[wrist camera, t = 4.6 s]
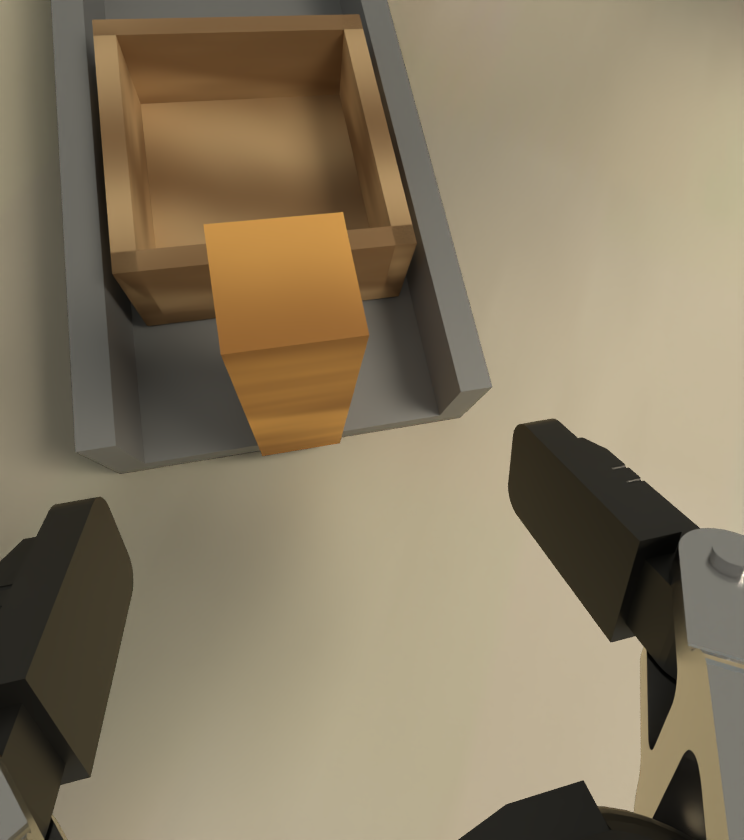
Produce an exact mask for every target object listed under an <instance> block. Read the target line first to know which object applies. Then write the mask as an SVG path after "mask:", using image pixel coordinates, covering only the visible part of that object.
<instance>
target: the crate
mask: <svg viewBox="0 0 744 840" xmlns="http://www.w3.org/2000/svg"><path fill="white" fill-rule="evenodd" d="M92 26H93V38H94V51H95V63H96V76H97V89H98V101H99V114H100V126H101V139H102V151H103V164H104V177H105V189H106V202H107V214H108V227H109V240H110V252H111V265H112V274H113V276H114V277H115V279H116V280H117V282H118V283H119V285H120V286H121V288H122V289H123V291H124V292H125V294H126V295H127V297H128V298H129V300H130V301H131V303H132V304H133V306H134V307H135V309H136V310H137V312H138V313H139V315H140V316H141V318H142V319H143V320H144V322H145V323H146V325H147V326H153V325H161V324H170V323H178V322H186V321H195V320H203V319H212V318H216V323H217V330H218V338H219V345H220V353H221V356H222V359H223V361H224V364H225V366H226V369H227V371H228V373H229V376H230V378H231V381H232V383H233V386H234V388H235V390H236V393H237V395H238V398H239V400H240V403H241V405H242V407H243V410H244V412H245V415H246V417H247V420H248V422H249V424H250V427H251V429H252V432H253V434H254V437H255V439H256V441H257V444H258V446H259V449H260V451H261V454H262V456H266V455H272V454H278V453H284V452H290V451H296V450H302V449H308V448H314V447H320V446H325V445H331V444H337V443H340V440H341V437H342V433H343V429H344V426H345V422H346V418H347V415H348V411H349V408H350V404H351V400H352V397H353V393H354V389H355V386H356V382H357V378H358V375H359V371H360V367H361V364H362V360H363V356H364V353H365V349H366V345H367V342H368V338H369V331H368V327H367V322H366V317H365V313H364V308H363V303H362V301H363V300H371V299H379V298H388V297H396V296H399V294H400V291H401V288H402V285H403V282H404V279H405V277H406V274H407V271H408V268H409V265H410V262H411V259H412V256H413V253H414V250H415V247H416V245H417V241H416V237H415V233H414V229H413V225H412V221H411V217H410V213H409V209H408V205H407V201H406V197H405V193H404V190H403V186H402V182H401V178H400V174H399V170H398V166H397V162H396V158H395V154H394V150H393V146H392V142H391V138H390V134H389V130H388V126H387V122H386V118H385V114H384V110H383V106H382V102H381V98H380V94H379V90H378V86H377V82H376V78H375V74H374V70H373V66H372V63H371V59H370V55H369V51H368V47H367V43H366V39H365V35H364V31H363V27H362V23H361V19H360V15H359V14H349V15H299V16H249V17H200V18H150V19H100V20H92Z"/></svg>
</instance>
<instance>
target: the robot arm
mask: <svg viewBox="0 0 744 840" xmlns="http://www.w3.org/2000/svg"><path fill="white" fill-rule="evenodd" d="M508 492H509V498H510V501H511V504H512V507H513V509H514V511H515V513H516V514H517V516H518V517H519V518H520V520H521V521H522V523H523V524H524V525H525V527H526V528H527V529H528V531H529V532H530V533H531V535H532V536H533V538H534V539H535V540H536V542H537V543H538V544H539V546H540V547H541V548H542V550H543V551H544V552H545V554H546V555H547V557H548V558H549V559H550V561H551V562H552V563H553V565H554V566H555V567H556V569H557V570H558V572H559V573H560V574H561V576H562V577H563V578H564V580H565V581H566V582H567V584H568V585H569V586H570V588H571V589H572V591H573V592H574V593H575V595H576V596H577V597H578V599H579V600H580V601H581V603H582V604H583V606H584V607H585V608H586V610H587V611H588V612H589V614H590V615H591V616H592V618H593V619H594V620H595V622H596V623H597V625H598V626H599V627H600V629H601V630H602V631H603V633H604V634H605V635H606V637H607V638H608V640H609V641H610V642H615V641H618V640H622V639H626V638H630V637H633V636H636V637H637V639H638V640H639V641H640V642H641V644H642V645H643V646H644V647H643V650H642V653H641V657H640V714H641V763H640V774H639V780H638V785H637V790H636V796H635V804H634V812H630V811H627V810H622V809H616V808H610V807H604V806H597V805H596V803H595V801H594V799H593V797H592V795H591V794H590V792H589V790H588V788H587V786H586V784H585V782H584V781H580V782H576V783H573V784H570V785H567V786H564V787H560V788H557V789H554V790H551V791H548V792H544V793H541V794H538V795H535V796H532V797H528V798H525V799H522V800H519V801H516V802H513V803H509V804H506V805H505V806H504V807H502V808H501V809H499V810H498V811H497V812H495V813H494V814H493V815H491V816H490V817H489V818H487V819H486V820H484V821H483V822H482V823H480V824H479V825H478V826H476V827H475V828H474V829H472V830H471V831H469V832H468V833H467V834H465V835H464V836H463V837H461V838H460V839H459V840H744V535H741V534H738V533H735V532H731V531H727V530H722V529H714V528H701V529H700V528H699V527H698V526H697V525H696V524H694V523H693V522H692V521H691V520H690V519H689V518H687V517H686V516H685V515H684V514H683V513H682V512H680V511H679V510H678V509H677V508H676V507H674V506H673V505H672V504H671V503H670V502H669V501H667V500H666V499H665V498H664V497H663V496H662V495H660V494H659V493H658V492H657V491H656V490H654V489H653V488H652V487H651V486H650V485H649V484H647V483H646V482H645V481H641V480H640V477H639V476H638V475H637V474H636V473H635V472H633V471H632V470H631V469H630V468H626V467H625V464H624V463H623V462H622V461H620V460H619V459H618V458H617V457H616V456H615V455H613V454H612V453H611V452H610V451H609V450H608V449H606V448H604V447H602V446H599V445H597V444H595V443H593V442H591V441H589V440H587V439H585V438H577V437H576V436H575V435H574V434H573V433H571V432H570V431H569V430H568V429H567V428H566V427H565V426H564V425H563V424H561V423H560V422H559V421H558V420H556V419H547V420H541V421H536V422H530V423H524V424H519V425H517V426H516V428H515V430H514V434H513V442H512V452H511V461H510V471H509V481H508ZM132 591H133V570H132V565H131V561H130V558H129V555H128V552H127V550H126V548H125V545H124V543H123V540H122V538H121V535H120V533H119V530H118V528H117V525H116V523H115V521H114V518H113V516H112V513H111V511H110V508H109V506H108V504H107V502H106V501H105V500H104V499H103V498H102V497H96V498H90V499H84V500H78V501H73V502H67V503H61V504H56V505H54V506H52V507H51V509H50V510H49V512H48V514H47V516H46V518H45V520H44V522H43V524H42V526H41V528H40V530H39V532H38V534H37V536H36V537H33V538H27V539H23V540H22V541H21V542H20V543H19V544H18V545H17V546H16V547H15V548H14V549H13V550H12V551H11V552H10V553H9V554H8V555H7V556H6V557H5V558H3V559H2V560H1V561H0V840H68V839H67V837H66V836H65V834H64V832H63V830H62V828H61V827H60V825H59V823H58V821H57V820H56V818H55V817H54V816H53V814H52V813H53V809H54V805H55V802H56V798H57V794H58V791H59V787H60V785H62V784H66V783H70V782H74V781H77V780H81V779H85V778H89V777H91V772H92V768H93V763H94V759H95V755H96V750H97V746H98V741H99V737H100V733H101V728H102V724H103V719H104V715H105V711H106V706H107V702H108V697H109V693H110V689H111V684H112V680H113V675H114V671H115V667H116V662H117V658H118V653H119V649H120V645H121V640H122V636H123V631H124V627H125V623H126V618H127V614H128V609H129V605H130V601H131V596H132Z"/></svg>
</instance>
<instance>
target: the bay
mask: <svg viewBox="0 0 744 840" xmlns="http://www.w3.org/2000/svg"><path fill="white" fill-rule="evenodd" d="M51 10H52V29H53V47H54V66H55V84H56V103H57V122H58V140H59V159H60V178H61V196H62V215H63V233H64V252H65V271H66V289H67V308H68V326H69V345H70V364H71V382H72V401H73V420H74V438H75V452H76V453H78V454H80V455H82V456H84V457H87V458H89V459H91V460H93V461H95V462H97V463H99V464H101V465H103V466H105V467H107V468H109V469H111V470H114V471H116V472H118V473H120V474H122V473H128V472H134V471H140V470H146V469H152V468H158V467H164V466H170V465H176V464H182V463H188V462H195V461H201V460H207V459H213V458H219V457H225V456H231V455H237V454H243V453H249V452H255V451H260V449H259V446H258V444H257V441H256V439H255V437H254V434H253V432H252V429H251V427H250V424H249V422H248V420H247V417H246V415H245V412H244V410H243V407H242V405H241V403H240V400H239V398H238V395H237V393H236V390H235V388H234V386H233V383H232V381H231V378H230V376H229V373H228V371H227V369H226V366H225V364H224V361H223V359H222V356H221V353H220V345H219V338H218V330H217V323H216V318H212V319H203V320H195V321H186V322H178V323H170V324H161V325H153V326H147V325H146V323H145V322H144V320H143V319H142V318H141V316H140V315H139V313H138V312H137V310H136V309H135V307H134V306H133V304H132V303H131V301H130V300H129V298H128V297H127V295H126V294H125V292H124V291H123V289H122V288H121V286H120V285H119V283H118V282H117V280H116V279H115V277H114V276H113V274H112V265H111V252H110V240H109V227H108V214H107V202H106V189H105V177H104V164H103V151H102V139H101V126H100V114H99V101H98V89H97V76H96V63H95V51H94V38H93V26H92V20H100V19H150V18H200V17H249V16H299V15H349V14H359V15H360V19H361V23H362V27H363V31H364V35H365V39H366V43H367V47H368V51H369V55H370V59H371V63H372V66H373V70H374V74H375V78H376V82H377V86H378V90H379V94H380V98H381V102H382V106H383V110H384V114H385V118H386V122H387V126H388V130H389V134H390V138H391V142H392V146H393V150H394V154H395V158H396V162H397V166H398V170H399V174H400V178H401V182H402V186H403V190H404V193H405V197H406V201H407V205H408V209H409V213H410V217H411V221H412V225H413V229H414V233H415V237H416V241H417V245H416V247H415V250H414V253H413V256H412V259H411V262H410V265H409V268H408V271H407V274H406V277H405V279H404V282H403V285H402V288H401V291H400V294H399V296H396V297H388V298H379V299H371V300H363V301H362V303H363V308H364V313H365V317H366V322H367V327H368V331H369V338H368V342H367V345H366V349H365V353H364V356H363V360H362V364H361V367H360V371H359V375H358V378H357V382H356V386H355V389H354V393H353V397H352V400H351V404H350V408H349V411H348V415H347V418H346V422H345V426H344V429H343V433H342V437H346V436H352V435H358V434H364V433H370V432H376V431H382V430H388V429H394V428H400V427H406V426H412V425H418V424H424V423H430V422H437V421H443V420H449V419H455V418H460V417H461V416H462V415H463V414H464V413H465V412H467V411H468V410H469V409H470V408H471V407H472V406H473V405H474V404H475V403H476V402H477V401H478V400H479V399H480V398H481V397H482V396H483V395H484V394H485V393H486V392H488V391H489V390H490V389H491V388H492V384H491V380H490V377H489V373H488V369H487V366H486V362H485V358H484V355H483V351H482V347H481V344H480V340H479V336H478V333H477V329H476V325H475V322H474V318H473V314H472V311H471V307H470V303H469V300H468V296H467V292H466V289H465V285H464V281H463V278H462V274H461V270H460V267H459V263H458V259H457V255H456V252H455V248H454V244H453V241H452V237H451V233H450V230H449V226H448V222H447V219H446V215H445V211H444V208H443V204H442V200H441V197H440V193H439V189H438V186H437V182H436V178H435V175H434V171H433V167H432V164H431V160H430V156H429V153H428V149H427V145H426V142H425V138H424V134H423V131H422V127H421V123H420V120H419V116H418V112H417V109H416V105H415V101H414V98H413V94H412V90H411V87H410V83H409V79H408V76H407V72H406V68H405V64H404V61H403V57H402V53H401V50H400V46H399V42H398V39H397V35H396V31H395V28H394V24H393V20H392V17H391V13H390V9H389V6H388V2H387V0H51Z"/></svg>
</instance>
